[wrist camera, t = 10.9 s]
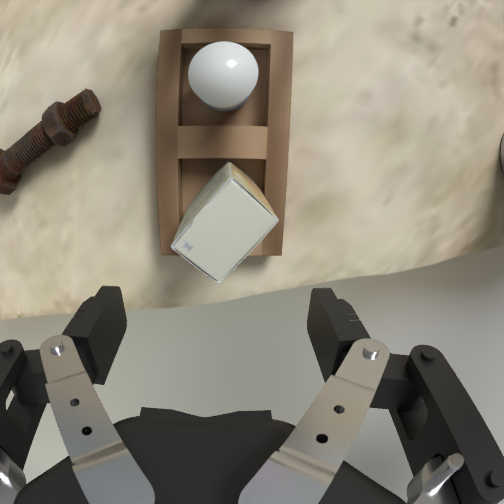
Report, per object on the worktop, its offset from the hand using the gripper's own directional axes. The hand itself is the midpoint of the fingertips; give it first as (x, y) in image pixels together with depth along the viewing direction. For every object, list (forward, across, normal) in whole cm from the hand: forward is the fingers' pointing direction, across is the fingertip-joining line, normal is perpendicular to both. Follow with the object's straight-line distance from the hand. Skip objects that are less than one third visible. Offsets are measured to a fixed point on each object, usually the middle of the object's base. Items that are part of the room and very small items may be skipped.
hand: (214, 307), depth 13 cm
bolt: (+21, +20, -7) cm, 30 cm away
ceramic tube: (+20, 0, -11) cm, 23 cm away
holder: (+21, 0, -6) cm, 21 cm away
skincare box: (+20, 0, 0) cm, 20 cm away
